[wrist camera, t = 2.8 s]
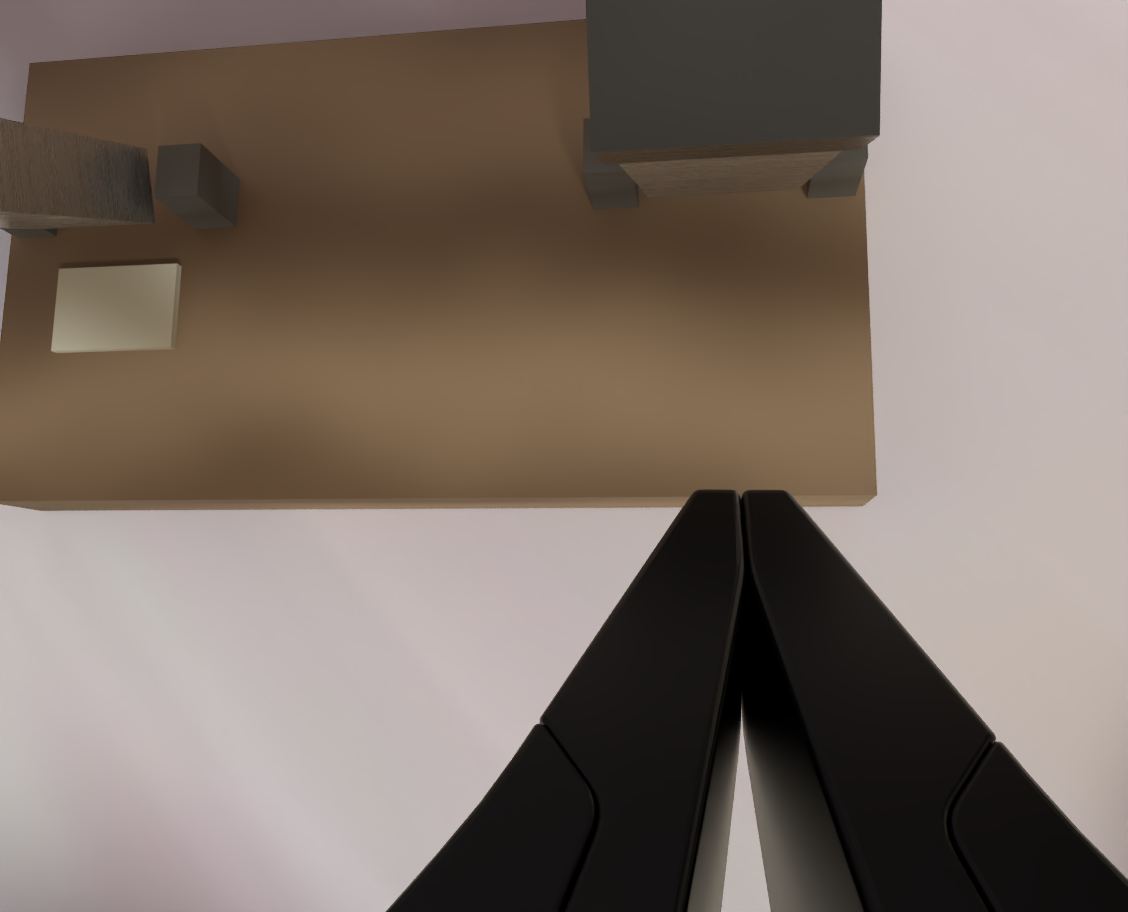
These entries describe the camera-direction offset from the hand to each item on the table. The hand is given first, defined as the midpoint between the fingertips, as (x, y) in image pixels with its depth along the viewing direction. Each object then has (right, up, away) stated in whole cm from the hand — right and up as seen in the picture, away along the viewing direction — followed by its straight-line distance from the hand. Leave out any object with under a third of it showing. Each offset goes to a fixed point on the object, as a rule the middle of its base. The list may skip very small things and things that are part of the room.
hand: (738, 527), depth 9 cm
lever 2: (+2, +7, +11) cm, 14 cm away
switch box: (-5, +5, +15) cm, 17 cm away
